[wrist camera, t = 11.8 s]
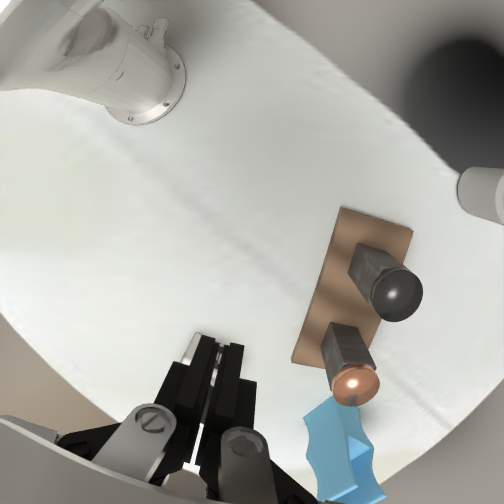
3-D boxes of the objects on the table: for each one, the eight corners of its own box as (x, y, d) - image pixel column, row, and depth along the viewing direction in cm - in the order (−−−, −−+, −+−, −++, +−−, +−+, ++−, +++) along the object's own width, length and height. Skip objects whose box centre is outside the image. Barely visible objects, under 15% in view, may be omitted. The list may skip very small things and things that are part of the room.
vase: (362, 411, 50) (387, 496, 31) (330, 434, 52) (344, 518, 33) (335, 393, 49) (355, 485, 30) (302, 417, 51) (310, 508, 32)
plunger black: (355, 238, 40) (385, 265, 29) (391, 248, 40) (430, 278, 29) (342, 277, 42) (366, 316, 30) (378, 286, 42) (410, 325, 30)
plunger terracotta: (327, 318, 44) (344, 367, 32) (362, 325, 44) (387, 373, 32) (315, 350, 45) (326, 403, 34) (349, 356, 45) (367, 408, 34)
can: (451, 211, 40) (499, 227, 29) (456, 162, 38) (506, 164, 27) (486, 217, 40) (534, 233, 28) (491, 171, 38) (540, 177, 26)
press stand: (340, 207, 41) (365, 223, 30) (409, 228, 41) (450, 250, 30) (291, 357, 48) (295, 408, 36) (354, 368, 48) (371, 417, 36)
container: (195, 330, 47) (173, 382, 35) (240, 352, 48) (231, 408, 36) (178, 364, 49) (155, 417, 37) (220, 384, 50) (207, 440, 37)
